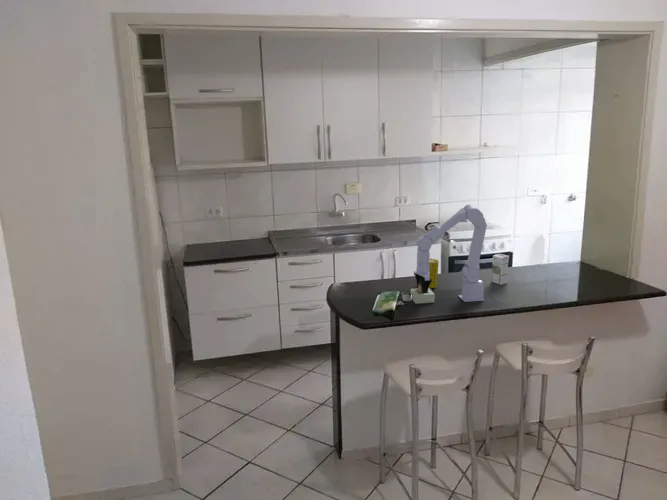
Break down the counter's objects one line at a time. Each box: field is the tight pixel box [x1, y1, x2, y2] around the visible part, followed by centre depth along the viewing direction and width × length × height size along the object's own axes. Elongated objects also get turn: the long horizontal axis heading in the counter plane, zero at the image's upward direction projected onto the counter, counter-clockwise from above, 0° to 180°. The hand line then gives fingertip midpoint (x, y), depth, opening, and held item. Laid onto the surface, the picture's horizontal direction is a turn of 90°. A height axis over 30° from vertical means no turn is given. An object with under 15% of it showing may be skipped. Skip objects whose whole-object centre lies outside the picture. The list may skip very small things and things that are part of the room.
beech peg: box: [418, 283, 422, 294], centre depth 248 cm, size 4×4×8 cm
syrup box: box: [490, 253, 510, 286], centre depth 267 cm, size 6×6×14 cm
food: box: [429, 257, 439, 289], centre depth 264 cm, size 15×12×10 cm
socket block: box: [409, 287, 436, 305], centre depth 248 cm, size 9×9×4 cm
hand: (422, 290), depth 247 cm, fingers open, 7 cm apart
